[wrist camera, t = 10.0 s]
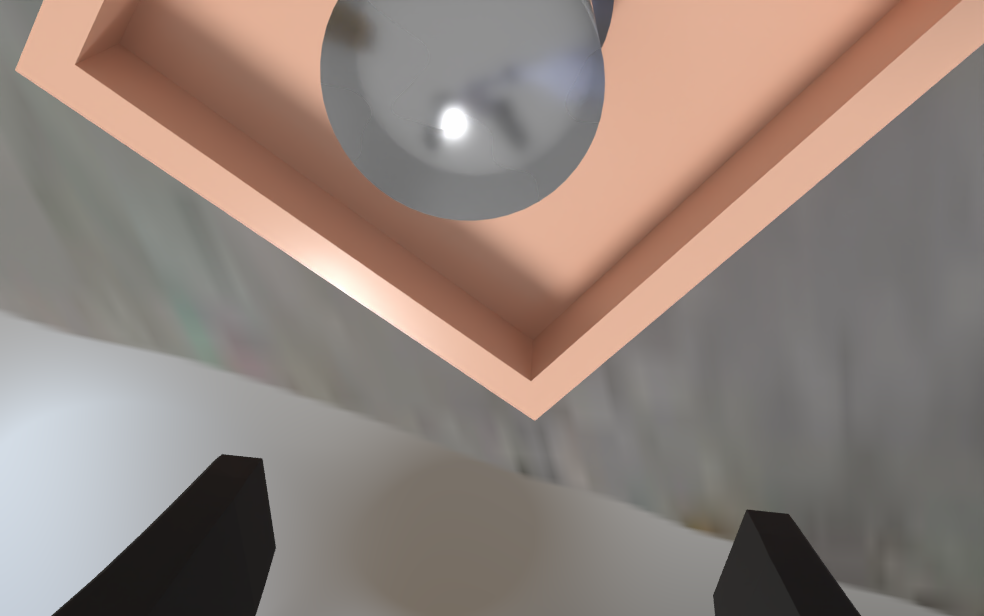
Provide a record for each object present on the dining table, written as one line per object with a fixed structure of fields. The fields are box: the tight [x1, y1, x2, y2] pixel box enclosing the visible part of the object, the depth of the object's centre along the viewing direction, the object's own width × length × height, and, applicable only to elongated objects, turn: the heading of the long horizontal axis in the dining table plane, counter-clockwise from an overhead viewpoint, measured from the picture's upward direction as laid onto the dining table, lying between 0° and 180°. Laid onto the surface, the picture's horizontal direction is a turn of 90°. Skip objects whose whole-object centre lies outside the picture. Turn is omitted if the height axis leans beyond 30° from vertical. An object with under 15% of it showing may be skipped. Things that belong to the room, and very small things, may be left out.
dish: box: [15, 0, 984, 421], centre depth 15 cm, size 15×15×2 cm
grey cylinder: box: [320, 0, 614, 221], centre depth 12 cm, size 5×5×8 cm
